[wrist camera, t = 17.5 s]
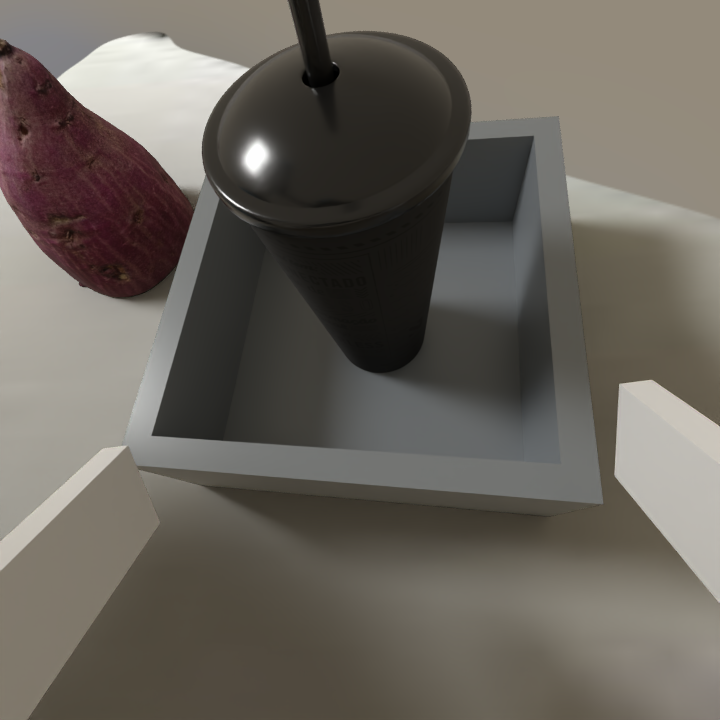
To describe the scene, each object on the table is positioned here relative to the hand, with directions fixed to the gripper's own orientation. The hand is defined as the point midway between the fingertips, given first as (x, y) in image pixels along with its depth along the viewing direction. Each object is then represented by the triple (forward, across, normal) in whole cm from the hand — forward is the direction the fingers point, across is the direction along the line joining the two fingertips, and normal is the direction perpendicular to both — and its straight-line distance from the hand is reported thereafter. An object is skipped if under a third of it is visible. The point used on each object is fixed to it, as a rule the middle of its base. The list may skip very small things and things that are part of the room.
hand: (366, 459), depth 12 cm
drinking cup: (+14, 0, -1) cm, 14 cm away
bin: (+14, 0, -1) cm, 14 cm away
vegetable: (+22, -17, +6) cm, 29 cm away
